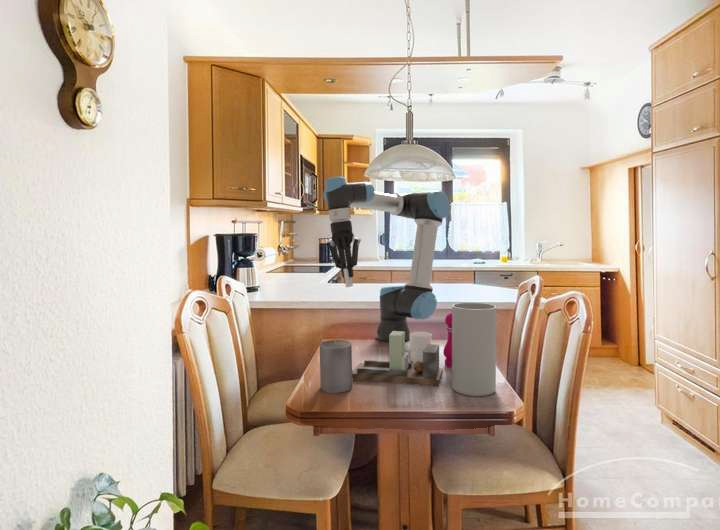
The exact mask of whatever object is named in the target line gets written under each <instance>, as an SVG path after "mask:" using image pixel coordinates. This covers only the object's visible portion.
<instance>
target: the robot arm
mask: <svg viewBox="0 0 720 530" xmlns="http://www.w3.org/2000/svg"><path fill="white" fill-rule="evenodd" d="M324 188H325V189H324V191H323V194H322V195H323V201H324V202H325V203H326V204H327V208H328V209H327V210H328V215H329V216H328V217H329V222H330V233H331V235H332V236H331V240H330V241H328V242H326V247H327V248H328V249H329V250H330V254H331V256H332V259H333V262H334V265H335V267H336V269H340V271H341V276H342V278H343V279H344V283H345V288H350V287H353V286H354V284H353V277H354V267H356V266H357V265H358V257H359V245H360V243H361V238H358V237H356V236H355V234H354V233H353V225H352V221H351V220H350V219H351V217H352V216H351V211H350V210H351V209H350V207H352V208H357V209H358V208H359V209H365V210H366V209H367V210H372V211H373V210H374V211H379V212H385V213H389V214H390V215H392V216H395V217H400V218H401V217H402V218H406V219H412V220H414V223H415V224H416V232H415V238H414V246H413V253H412V260H411V267H410V272H409V273H410V275H409V281H408V282H407V283H405V284H403V285H392V286H384V287H381V288H380V291H379V316H380V317H379V319H380V320H379V323H378V328H377V330H376V339H377V340H379V341H383V342H389V335H390V334H391V333H392V331H402V332H405V340H406V341H410V333H412V332H411V330H410V327H409V323H408V319H414V320H422V321H423V320H427V319H429V318H431V316H433V315H434V313H435V312H436V309H437V303H438V301H437V296H436V295H435V293H433V290H434V288H433V287H432V286H431V280H432V279H431V277H432V271H433V262H434V256H435V250H436V244H437V243H436V242H437V237H438V236H437V234H438V228H439V227H440V226H442V224H443V219H446V218H447V217H448V216H449V214H450V211H451V204H450V199H449V198H448V196H447V194H446V193H445V192H444V191H442V190H433V189H431V190H425V191H415V192H408V193H399V192H395V193H393V194H390V193H384V192H379V191H375V187H374V185H373V183H371V182H369V181H357V182H347V179H346V177H345V176H333V177H329V178H326V179H325V181H324ZM351 244H352V246H351ZM336 247H337V248H336ZM407 318H408V319H407Z"/></svg>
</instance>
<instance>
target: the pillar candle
mask: <svg viewBox="0 0 720 530" xmlns="http://www.w3.org/2000/svg"><path fill="white" fill-rule="evenodd" d="M352 347H353V346H352V342H351V341H349V340H347V339H346V340H345V339H336V338H335V339H330V340H329V339H328V340H324V341H322V342H320V343H319V367H320V368H319V370H320V371H319V374H320V375H319V376H320V378H319V379H320V390H321V391H322V392H324V393H328V394H339V393H340V394H341V393H344V392H345V393H346V391H347V392H349V391H351V390H352V389H353V380H352V371H353V355H352V353H353V352H352V350H353V349H352ZM350 389H351V390H350Z"/></svg>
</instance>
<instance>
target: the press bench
mask: <svg viewBox="0 0 720 530" xmlns="http://www.w3.org/2000/svg"><path fill="white" fill-rule="evenodd" d="M363 361H364V362H360V363H358V365H357V366H356V367H355V368H354V369H352V379H354V380H353V381H362V380H366V381H365V382H375V381H381V382H380V383H389V382H395V383H394V384H402V383H406V384H405V385H415V384H419V385H418V386H429V385H433V386H432V387H440V385H439V384H440V383H441V381H442V377H443V375H442V374H443V372H444V370H443V367H441V368H440V345H439V344H432V343H431V344H427V345H426V347H425V349H424V351H423V362H421V361H417V362H415V363H414V364H413V362H408V369H407V371H403V370H389V360H375V359H374V360H373V359H364V360H363ZM412 365H413V366H412ZM367 380H368V381H367Z"/></svg>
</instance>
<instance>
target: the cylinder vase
mask: <svg viewBox="0 0 720 530" xmlns="http://www.w3.org/2000/svg"><path fill="white" fill-rule="evenodd" d="M451 307H452V308H451V310H452V312H451V313H452V367H451V387H452V389H453V391H455V392H456V393H458V394H460V395H464V396H470V397H486V396H489V395H493V393H495V391H496V386H497V383H496V382H497V381H496V379H497V378H496V377H497V376H496V375H497V373H496V372H497V368H496V367H497V306H496V305H494V304H490V303H485V302H459V303H454V304H452V306H451Z"/></svg>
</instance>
